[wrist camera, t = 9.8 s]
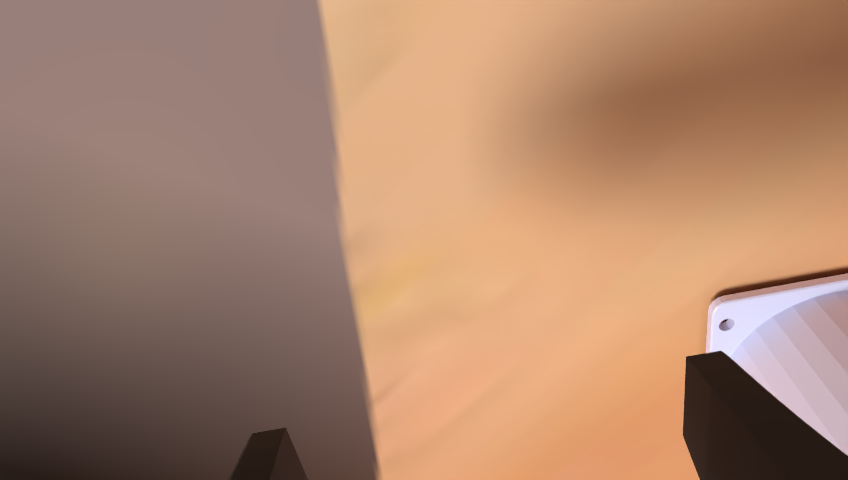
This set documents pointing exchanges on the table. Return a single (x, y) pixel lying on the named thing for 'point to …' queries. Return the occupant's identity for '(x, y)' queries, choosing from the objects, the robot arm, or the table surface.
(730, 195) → the table surface
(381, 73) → the table surface
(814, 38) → the table surface
